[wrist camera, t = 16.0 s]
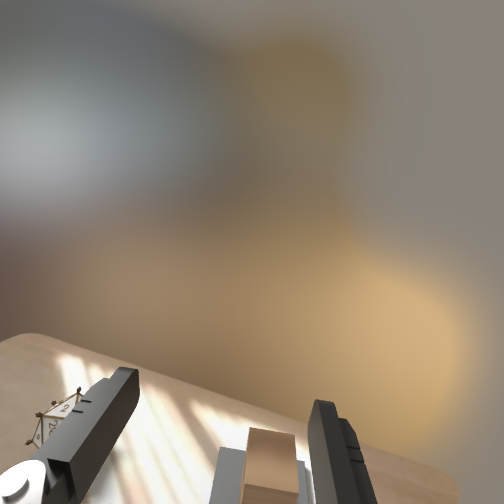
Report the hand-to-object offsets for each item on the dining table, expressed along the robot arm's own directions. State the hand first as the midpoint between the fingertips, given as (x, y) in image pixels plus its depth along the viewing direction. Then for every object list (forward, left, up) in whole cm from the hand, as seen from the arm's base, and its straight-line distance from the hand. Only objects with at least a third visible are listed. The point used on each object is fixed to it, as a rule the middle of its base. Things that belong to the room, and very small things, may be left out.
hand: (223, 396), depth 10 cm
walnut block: (+11, +3, -31) cm, 33 cm away
